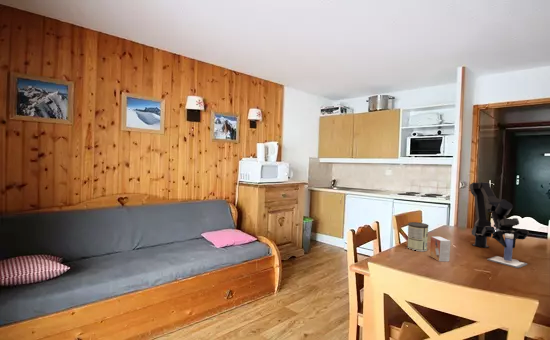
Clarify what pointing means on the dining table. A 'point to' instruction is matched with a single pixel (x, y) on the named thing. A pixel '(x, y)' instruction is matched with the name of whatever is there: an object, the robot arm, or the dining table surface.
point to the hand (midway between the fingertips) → (509, 247)
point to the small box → (440, 248)
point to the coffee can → (417, 236)
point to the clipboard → (507, 262)
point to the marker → (508, 246)
